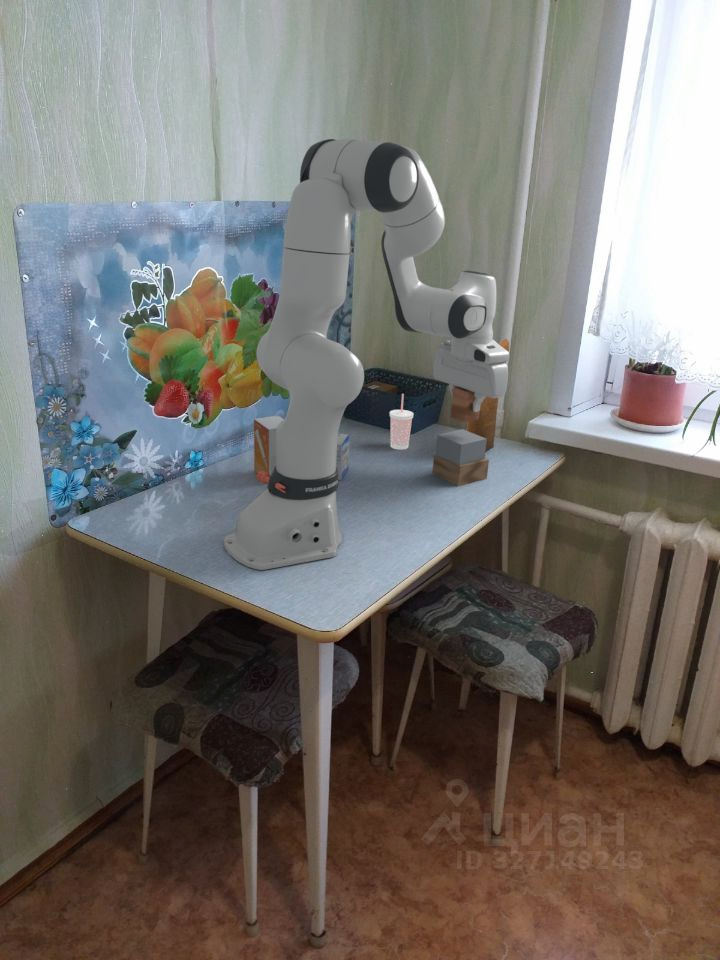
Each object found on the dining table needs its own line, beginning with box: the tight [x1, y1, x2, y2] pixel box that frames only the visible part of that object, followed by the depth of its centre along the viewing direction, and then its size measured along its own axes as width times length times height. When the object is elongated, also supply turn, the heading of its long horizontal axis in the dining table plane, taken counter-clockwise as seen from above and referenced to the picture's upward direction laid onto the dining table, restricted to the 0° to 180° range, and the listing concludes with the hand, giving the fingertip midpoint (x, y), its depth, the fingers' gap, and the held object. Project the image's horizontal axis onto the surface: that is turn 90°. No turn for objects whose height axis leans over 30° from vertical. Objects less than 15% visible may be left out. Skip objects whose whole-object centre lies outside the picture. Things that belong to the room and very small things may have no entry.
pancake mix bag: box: [464, 338, 510, 453], centre depth 190 cm, size 7×19×28 cm, turn 147°
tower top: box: [435, 428, 487, 466], centre depth 175 cm, size 8×8×5 cm
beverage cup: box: [389, 393, 415, 450], centre depth 193 cm, size 6×6×14 cm
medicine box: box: [336, 433, 350, 481], centre depth 175 cm, size 8×4×9 cm, turn 168°
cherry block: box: [450, 387, 480, 423], centre depth 172 cm, size 4×4×7 cm
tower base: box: [431, 453, 490, 487], centre depth 177 cm, size 9×9×5 cm
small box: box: [253, 415, 285, 477], centre depth 171 cm, size 8×6×13 cm
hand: (465, 407), depth 172 cm, fingers closed on cherry block, 4 cm apart
